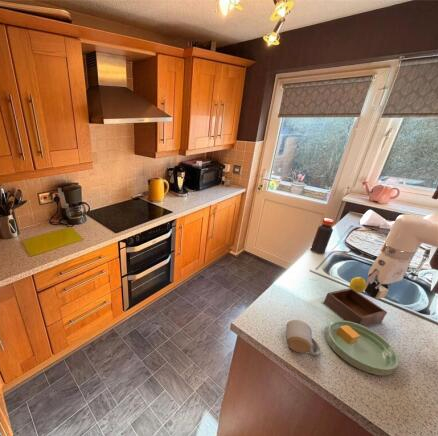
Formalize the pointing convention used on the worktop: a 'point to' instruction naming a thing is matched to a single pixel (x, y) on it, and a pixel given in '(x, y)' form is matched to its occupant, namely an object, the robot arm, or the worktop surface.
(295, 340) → the ceramic mug
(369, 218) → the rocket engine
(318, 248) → the bottle
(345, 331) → the orange block
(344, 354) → the plate
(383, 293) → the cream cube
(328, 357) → the worktop surface
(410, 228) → the robot arm
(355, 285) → the lemon
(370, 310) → the holder
